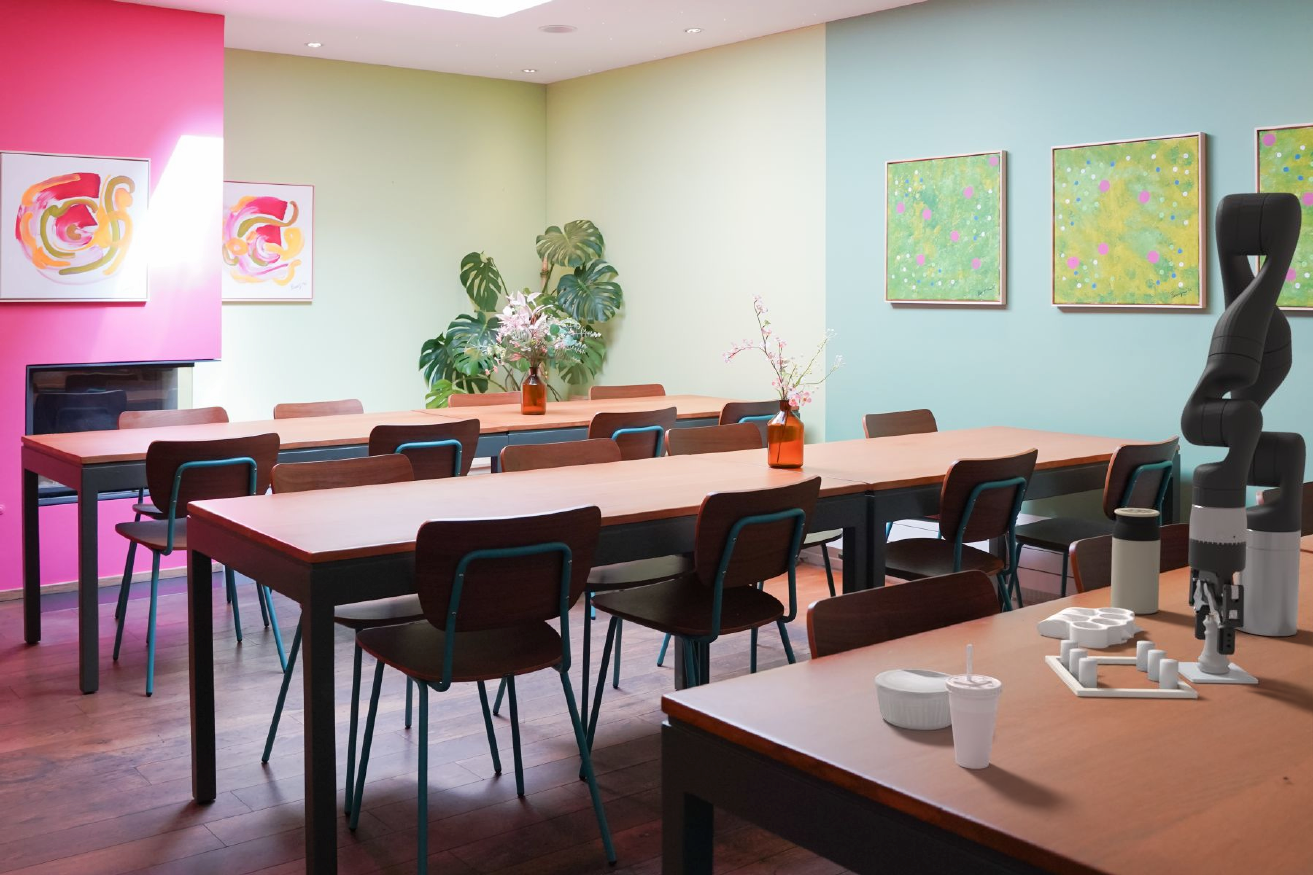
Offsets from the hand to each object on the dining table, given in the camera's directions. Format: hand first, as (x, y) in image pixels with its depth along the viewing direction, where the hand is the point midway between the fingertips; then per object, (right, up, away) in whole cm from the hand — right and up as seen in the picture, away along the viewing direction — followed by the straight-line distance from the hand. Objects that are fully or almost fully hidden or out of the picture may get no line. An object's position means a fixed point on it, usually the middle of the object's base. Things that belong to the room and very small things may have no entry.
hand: (1213, 646), depth 175 cm
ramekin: (-47, -6, -19) cm, 51 cm away
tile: (0, -4, 0) cm, 4 cm away
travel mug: (+5, -1, +41) cm, 41 cm away
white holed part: (-9, -3, +24) cm, 26 cm away
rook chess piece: (0, -4, 0) cm, 4 cm away
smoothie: (-44, -8, -35) cm, 57 cm away
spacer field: (-15, -4, -1) cm, 15 cm away
